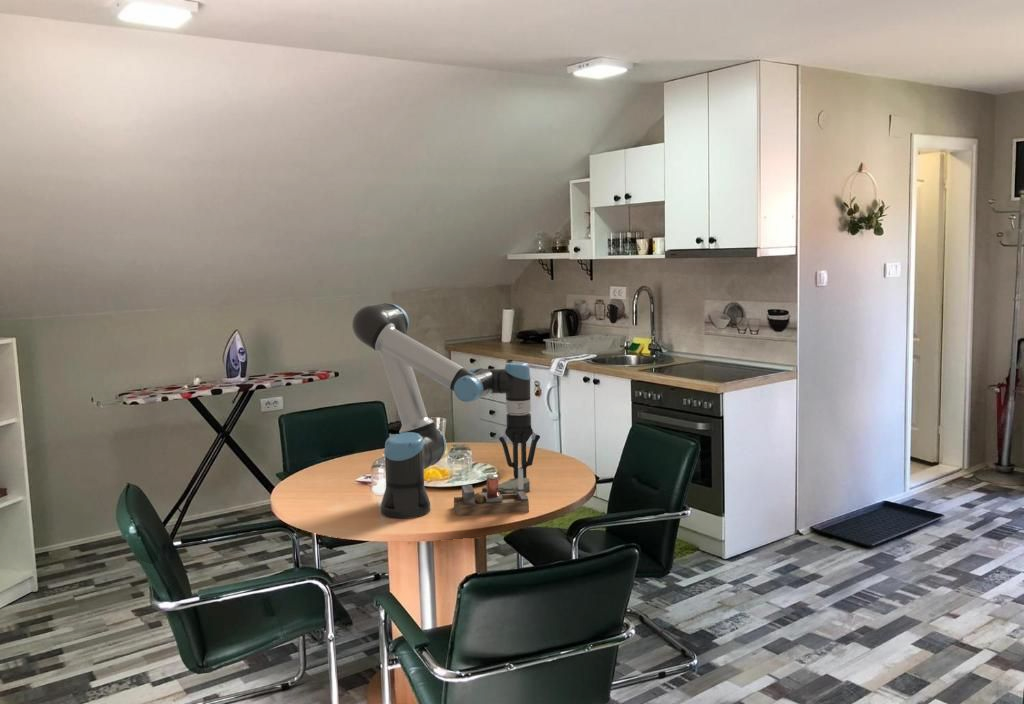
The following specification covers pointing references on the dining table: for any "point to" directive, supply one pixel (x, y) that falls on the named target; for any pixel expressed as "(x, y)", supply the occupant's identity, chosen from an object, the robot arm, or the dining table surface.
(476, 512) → the board
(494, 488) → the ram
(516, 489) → the rock
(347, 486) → the dining table surface
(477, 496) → the nut
